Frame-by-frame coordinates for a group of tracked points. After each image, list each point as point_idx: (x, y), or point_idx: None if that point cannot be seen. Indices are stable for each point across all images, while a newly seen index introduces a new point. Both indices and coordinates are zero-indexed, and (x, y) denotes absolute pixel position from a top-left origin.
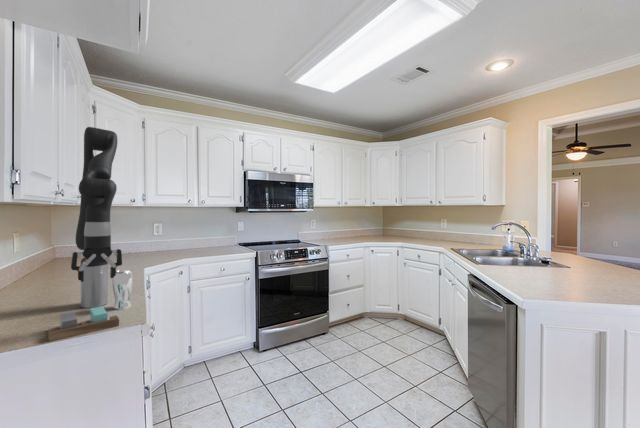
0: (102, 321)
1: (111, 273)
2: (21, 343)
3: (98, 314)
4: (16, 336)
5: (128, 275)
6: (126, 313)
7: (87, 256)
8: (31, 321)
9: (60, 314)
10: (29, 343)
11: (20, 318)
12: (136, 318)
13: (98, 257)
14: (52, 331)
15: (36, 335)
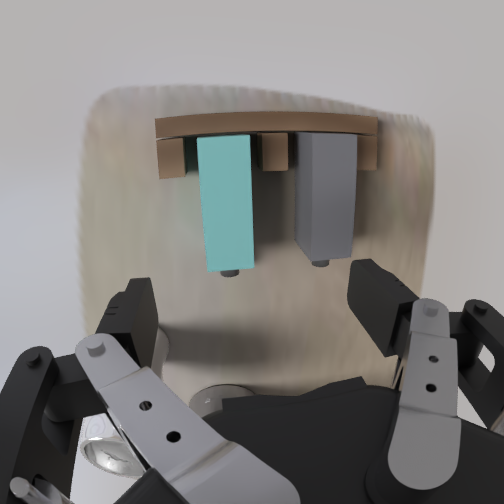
0: (216, 123)
1: (140, 298)
2: (412, 163)
3: (232, 142)
4: (414, 235)
5: (91, 425)
6: (126, 262)
7: (468, 438)
8: (371, 342)
9: (351, 249)
10: (399, 146)
11: (379, 374)
12: (95, 172)
13: (316, 463)
14: (368, 133)
15: (383, 207)
